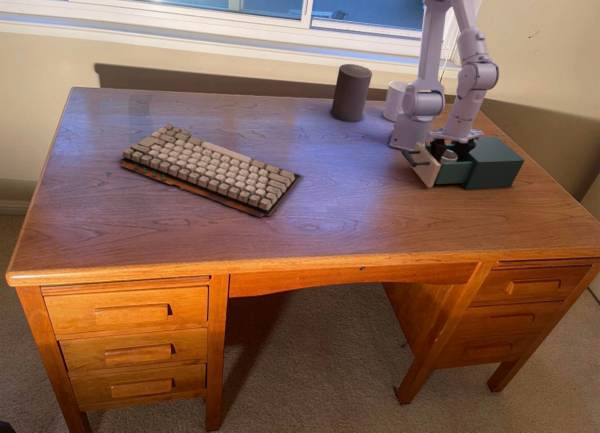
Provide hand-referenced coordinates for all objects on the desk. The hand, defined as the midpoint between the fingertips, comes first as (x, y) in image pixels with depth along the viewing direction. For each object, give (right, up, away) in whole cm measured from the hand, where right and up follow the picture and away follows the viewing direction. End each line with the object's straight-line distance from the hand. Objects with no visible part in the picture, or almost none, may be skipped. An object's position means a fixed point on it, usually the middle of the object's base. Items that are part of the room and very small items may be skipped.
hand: (442, 164), depth 108 cm
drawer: (-3, -2, +1) cm, 4 cm away
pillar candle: (-21, +18, +24) cm, 37 cm away
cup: (0, -1, +1) cm, 1 cm away
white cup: (-6, +18, +27) cm, 33 cm away
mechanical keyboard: (-56, -3, -9) cm, 57 cm away
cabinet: (+10, -2, +5) cm, 12 cm away
